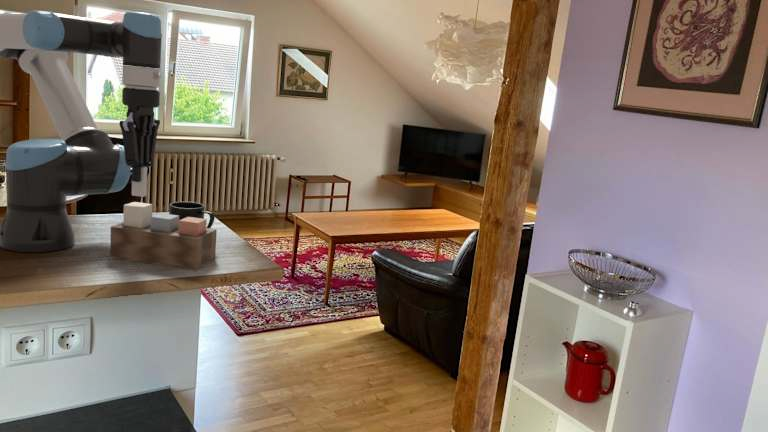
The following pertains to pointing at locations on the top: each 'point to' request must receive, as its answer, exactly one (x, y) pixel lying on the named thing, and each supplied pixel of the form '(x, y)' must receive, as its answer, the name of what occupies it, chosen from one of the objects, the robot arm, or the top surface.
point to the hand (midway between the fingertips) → (139, 195)
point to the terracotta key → (192, 226)
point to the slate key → (165, 222)
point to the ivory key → (137, 214)
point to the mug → (190, 211)
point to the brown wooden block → (162, 246)
